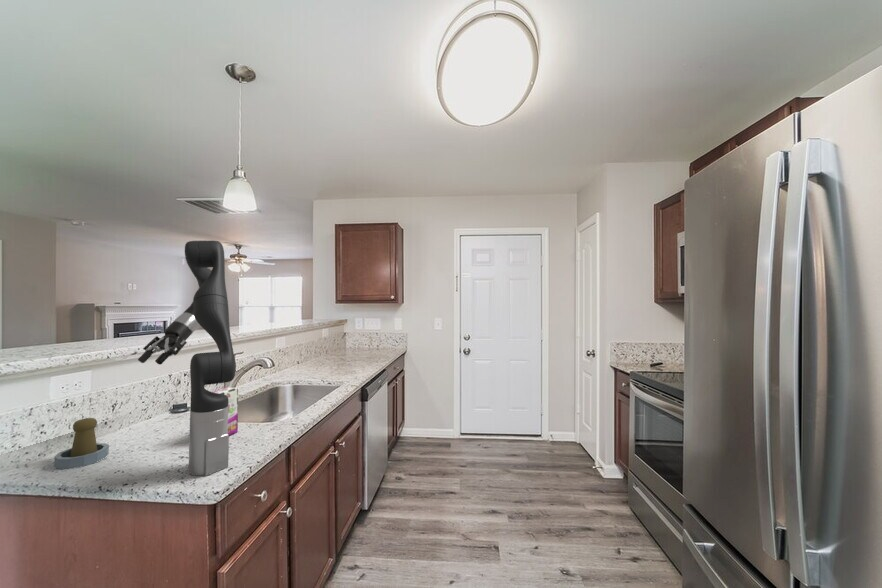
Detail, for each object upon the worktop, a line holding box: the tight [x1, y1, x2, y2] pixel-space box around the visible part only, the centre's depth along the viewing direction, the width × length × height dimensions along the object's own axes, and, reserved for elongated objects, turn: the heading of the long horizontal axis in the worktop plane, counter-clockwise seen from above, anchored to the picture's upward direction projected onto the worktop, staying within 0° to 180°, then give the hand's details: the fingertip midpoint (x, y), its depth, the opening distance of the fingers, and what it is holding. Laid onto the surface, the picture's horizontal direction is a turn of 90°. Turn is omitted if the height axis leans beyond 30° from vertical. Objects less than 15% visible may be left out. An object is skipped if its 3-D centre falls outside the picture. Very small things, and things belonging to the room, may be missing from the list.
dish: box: [53, 442, 110, 470], centre depth 104 cm, size 11×11×3 cm
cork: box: [70, 417, 98, 457], centre depth 106 cm, size 6×6×11 cm
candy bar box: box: [212, 386, 239, 437], centre depth 123 cm, size 11×5×16 cm, turn 171°
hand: (148, 362), depth 121 cm, fingers open, 8 cm apart
